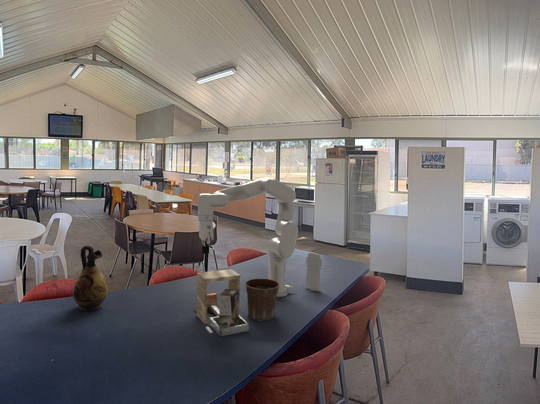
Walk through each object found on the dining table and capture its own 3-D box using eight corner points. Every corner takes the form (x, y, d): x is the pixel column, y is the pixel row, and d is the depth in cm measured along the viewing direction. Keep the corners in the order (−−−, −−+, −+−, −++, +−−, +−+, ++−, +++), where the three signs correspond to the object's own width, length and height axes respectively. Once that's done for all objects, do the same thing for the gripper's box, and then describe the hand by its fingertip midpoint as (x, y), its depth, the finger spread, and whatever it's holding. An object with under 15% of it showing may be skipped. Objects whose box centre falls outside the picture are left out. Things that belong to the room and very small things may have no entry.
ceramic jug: (114, 304, 189) (114, 245, 186) (88, 315, 175) (87, 251, 172) (90, 298, 196) (89, 241, 193) (63, 308, 182) (62, 247, 180)
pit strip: (224, 305, 193) (224, 304, 193) (226, 307, 190) (226, 306, 190) (193, 310, 185) (193, 309, 185) (195, 312, 183) (195, 311, 183)
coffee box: (232, 333, 161) (233, 296, 160) (218, 331, 163) (218, 294, 161) (238, 324, 170) (239, 289, 169) (224, 322, 172) (225, 288, 170)
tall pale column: (303, 288, 224) (304, 251, 221) (306, 286, 227) (308, 250, 225) (318, 292, 217) (320, 254, 215) (322, 290, 220) (323, 253, 218)
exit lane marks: (243, 320, 174) (243, 320, 174) (249, 325, 169) (249, 325, 169) (205, 327, 166) (205, 327, 166) (210, 333, 160) (210, 332, 160)
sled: (221, 304, 192) (221, 292, 192) (248, 330, 163) (249, 316, 163) (196, 308, 186) (196, 295, 186) (220, 336, 157) (220, 321, 157)
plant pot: (282, 312, 185) (284, 280, 184) (272, 325, 170) (273, 290, 168) (251, 307, 190) (252, 276, 189) (238, 319, 175) (239, 285, 174)
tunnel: (230, 309, 187) (231, 269, 185) (239, 317, 177) (240, 275, 176) (196, 315, 179) (197, 272, 177) (204, 324, 170) (204, 279, 168)
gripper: (217, 219, 187) (217, 255, 189) (207, 215, 201) (208, 249, 202) (203, 220, 184) (203, 257, 186) (194, 216, 197) (194, 251, 199)
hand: (205, 253), depth 194 cm, fingers closed
